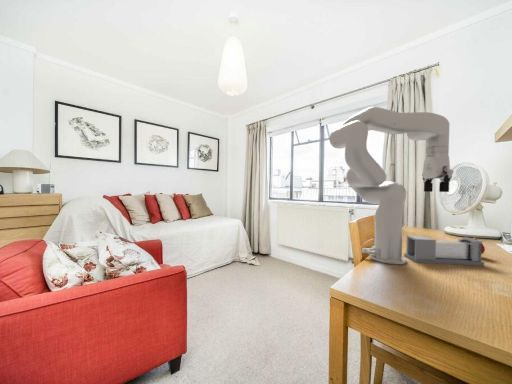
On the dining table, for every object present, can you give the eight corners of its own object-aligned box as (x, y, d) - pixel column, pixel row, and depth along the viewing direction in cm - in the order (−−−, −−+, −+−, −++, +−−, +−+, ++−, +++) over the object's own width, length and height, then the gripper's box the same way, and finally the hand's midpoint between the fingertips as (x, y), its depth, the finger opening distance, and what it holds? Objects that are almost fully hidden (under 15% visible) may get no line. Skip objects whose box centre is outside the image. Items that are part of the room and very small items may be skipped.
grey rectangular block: (430, 257, 85) (430, 242, 85) (424, 254, 89) (424, 240, 89) (473, 259, 83) (474, 244, 83) (465, 256, 87) (466, 241, 87)
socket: (472, 261, 82) (472, 241, 82) (458, 255, 88) (458, 237, 88) (481, 261, 82) (482, 241, 81) (466, 256, 88) (467, 237, 88)
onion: (488, 258, 89) (489, 239, 89) (474, 258, 89) (475, 239, 89) (474, 254, 95) (475, 236, 95) (461, 254, 95) (462, 236, 95)
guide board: (415, 262, 84) (416, 239, 84) (404, 255, 92) (404, 235, 91) (484, 265, 81) (484, 241, 81) (466, 258, 89) (466, 237, 89)
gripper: (415, 155, 101) (414, 191, 101) (441, 148, 84) (440, 191, 84) (432, 155, 100) (431, 191, 100) (463, 148, 83) (461, 192, 83)
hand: (435, 191), depth 92 cm, fingers open, 9 cm apart
